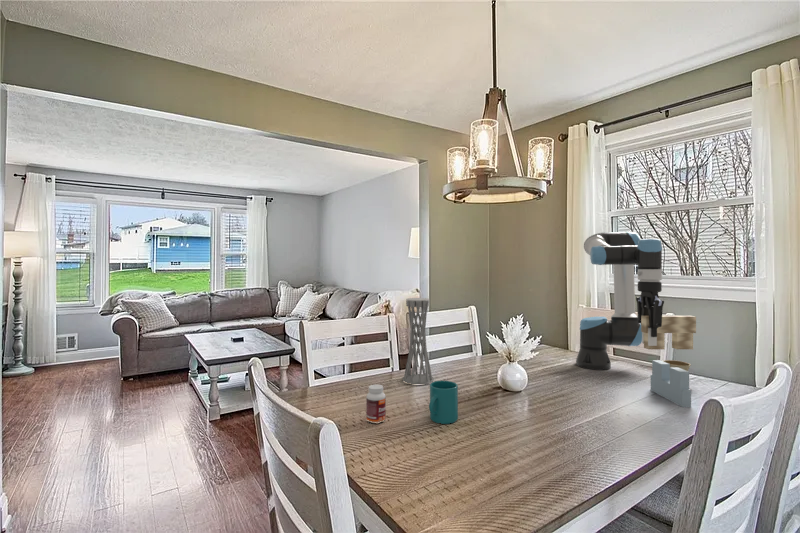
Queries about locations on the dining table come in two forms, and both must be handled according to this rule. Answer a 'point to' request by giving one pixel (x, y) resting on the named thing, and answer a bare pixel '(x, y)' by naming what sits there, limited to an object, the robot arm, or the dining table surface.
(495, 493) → the dining table surface
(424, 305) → the vase
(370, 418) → the pill bottle
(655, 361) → the slate board
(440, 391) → the cup
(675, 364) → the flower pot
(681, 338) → the maple board
